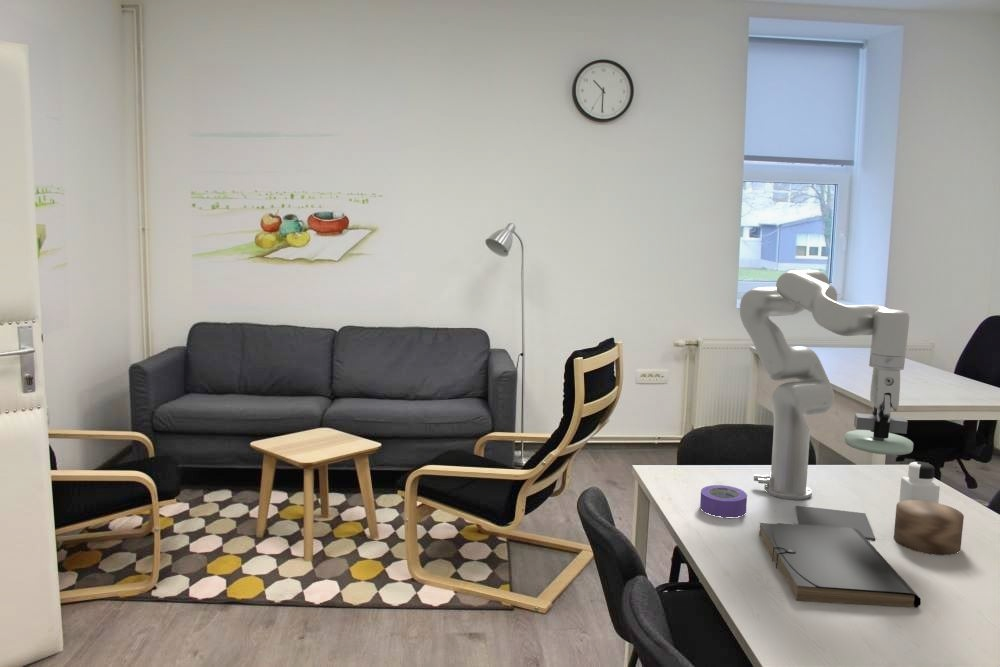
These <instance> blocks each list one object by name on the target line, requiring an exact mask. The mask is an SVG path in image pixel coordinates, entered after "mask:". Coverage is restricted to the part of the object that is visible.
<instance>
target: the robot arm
mask: <svg viewBox="0 0 1000 667" xmlns="http://www.w3.org/2000/svg"><path fill="white" fill-rule="evenodd" d="M830 283H831V282H830V280H829V277H828V276H827V275H826V274H825V273H824V272H822V271H820V270H816V269H801V270H799V269H795V270H788V271H785V272H784V273H781V275H779V277H778V278H777V280H776V283H775V284H776V285H775V286H765V287H755V288H752V289H749V290H748V291H746V292H745V293H744V294H743V295H742V297H741V300H740V303H739V316H740V320H741V322H742V325H743V327H744V329H745V330H746V332H747V333H748V336H749V337H750V339H751V341H752V343H753V345H754V348H755V351H756V353H757V355H758V357H759V360H760V363H761V366H762V368H763V370H764V372H765V374H766V376H767V378H768V379H770V380H771V381H775V382H784V383H781V384H780V385H778V386H777V387H775V389H774V390H773V391H772V394H771V406H772V415H773V436H772V450H771V452H772V453H771V467H770V470H771V471H769V474H768V473H767V474H765V475H762V474H753V481H754V482H757V483H758V484H764V488H763V489H765V490H766V491H767V492H768V494H769V493H770V494H772V495H771V496H773V495H774V496H773V497H776V498H780V499H786V500H795V501H796V500H806V499H809V498H811V497H812V495H813V490H812V489H811V488H810V487H808V486H807V485H808V484H807V483H808V467H809V452H810V451H809V450H810V436H811V435H810V434H811V433H810V427H809V426H808V423H807V421H806V419H805V417H806V416H813V415H821V414H822V415H823V414H825V413H829V412H830V411H831V410H832V408H833V407H834V405H835V399H836V397H835V393H834V390H833V387H832V384H831V382H830V379H829V377H828V375H827V373H826V371H825V368H824V367H823V364H822V361H821V360H820V358H819V355H817V354H816V352H815V351H813V349H811V348H809V347H807V346H800V345H799V346H791V345H789V344H788V342H787V340H786V338H785V335H784V333H783V331H782V330H781V328H780V327H779V326H778V325H777V324H776V323H775V322H773V321H772V319H770V317H785V316H786V317H787V316H793V315H797V314H799V313H801V312H803V311H804V310H806V311H807V312H810V313H811V314H812V317H813V319H814V321H815V322H816V323H817V324H818V325H819V326H820V327H821V328H824V329H826V330H828V331H829V332H831V333H833V334H835V335H839V336H843V337H855V336H858V337H859V336H871V343H870V344H871V345H870V353H869V362H868V366H869V367H870V368H872V375H871V384H870V392H869V393H870V397H869V398H870V402H871V403H872V412H871V414H872V415H877V421H875V425H874V431H871V432H874V434H873V436H874V437H876V438H888V436H889V433H890V432H889V427H890V416H891V413H892V412H891V411H892V409H893V411H894V412H897V411H898V410H899V409H900V408H899V406H900V393H901V392H900V391H901V390H900V389H901V371H902V370H904V369H905V364H906V363H905V362H906V355H907V354H906V352H907V345H908V336H909V327H910V314H909V313H908V312H907V311H905V310H901V309H893V308H888V307H885V306H882V305H880V304H852V305H851V304H849V305H847V304H846V305H845V304H843V303H840V302H837V299H838V292H837V290H836V288H835V287H834V286H833V285H831V284H830ZM787 381H788V382H787ZM791 381H792V382H791ZM891 408H892V409H891ZM765 490H764V491H765ZM766 491H765V492H766ZM767 492H766V493H767ZM770 494H769V495H770Z"/></svg>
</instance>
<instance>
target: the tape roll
mask: <svg viewBox="0 0 1000 667" xmlns="http://www.w3.org/2000/svg"><path fill="white" fill-rule="evenodd" d="M747 502H748V494H747V493H746V492H745V491H744V490H743V489H741V488H737V487H736V486H735V487H734V486H730V485H723V484H714V485H707V486H704V487H702V488H701V490H700V502H699V503H700V504H699V505H700V506H699V509H700V508H701V509H702V510H703V511H704V512H706V513H709V514H711V515H715V516H721V517H738V516H742V515H744V514H745V513H746V514H747V504H748V503H747ZM701 509H700V510H701ZM704 512H703V513H704ZM706 513H705V514H706ZM746 514H745V515H746ZM745 515H744V516H745Z"/></svg>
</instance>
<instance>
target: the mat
mask: <svg viewBox="0 0 1000 667" xmlns="http://www.w3.org/2000/svg"><path fill="white" fill-rule="evenodd" d="M795 511H796V518H797V524H800V525H815V526H831V527H846V528H854V529H857V530H859V531H860V532H861V533H862V534H863V536H864V537H865V538H866V539H867V540H868V541H876V537H875V534H874V532H873V529H872V527H871V524H870V521H869V519H868V516H867V514H866V513H865V512H858V511H848V510H840V509H839V510H838V509H831V508H821V507H813V506H805V505H804V506H803V505H797V504H796V505H795Z"/></svg>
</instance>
